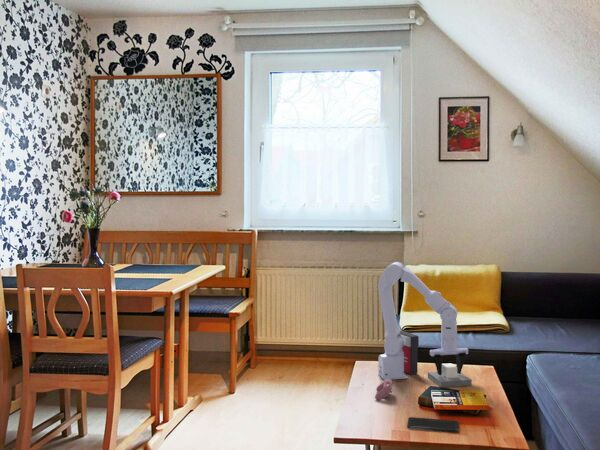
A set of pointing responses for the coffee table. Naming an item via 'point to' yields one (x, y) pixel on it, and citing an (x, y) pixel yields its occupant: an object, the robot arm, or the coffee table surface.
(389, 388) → the pink lumpy figure
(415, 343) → the dark grey red box
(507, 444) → the coffee table surface
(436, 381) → the socket
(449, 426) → the phone
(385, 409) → the coffee table surface
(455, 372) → the white rectangular box
